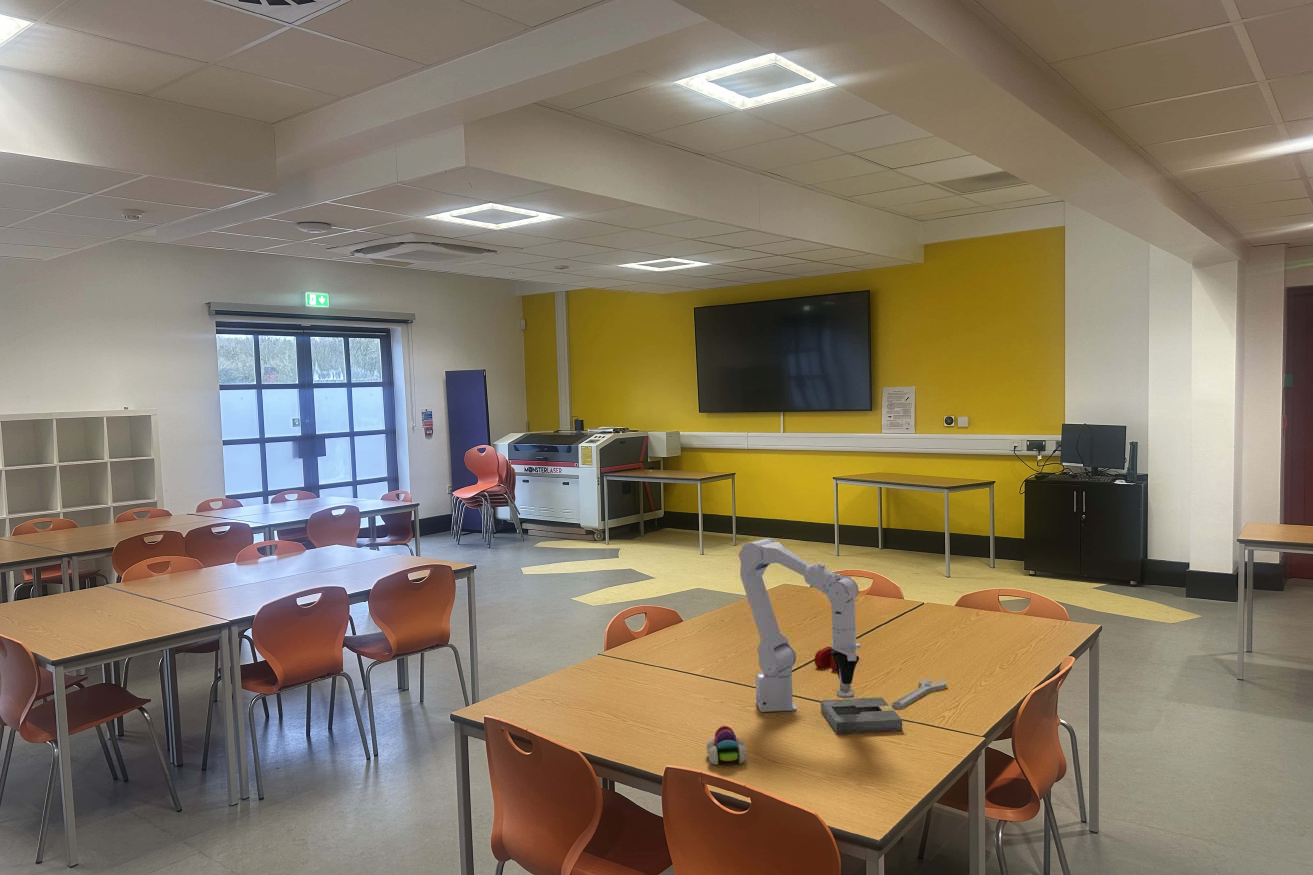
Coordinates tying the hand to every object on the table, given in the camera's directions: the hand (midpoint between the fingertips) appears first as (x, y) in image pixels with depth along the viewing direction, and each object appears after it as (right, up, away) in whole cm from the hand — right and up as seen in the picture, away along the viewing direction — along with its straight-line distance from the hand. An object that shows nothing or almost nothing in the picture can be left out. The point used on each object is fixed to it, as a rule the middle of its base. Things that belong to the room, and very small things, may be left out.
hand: (845, 681), depth 215 cm
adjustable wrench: (+23, -9, +18) cm, 31 cm away
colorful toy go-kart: (-31, -12, -20) cm, 39 cm away
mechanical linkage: (+9, -9, +48) cm, 50 cm away
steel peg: (0, -3, 0) cm, 3 cm away
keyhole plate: (+4, -10, 0) cm, 11 cm away
